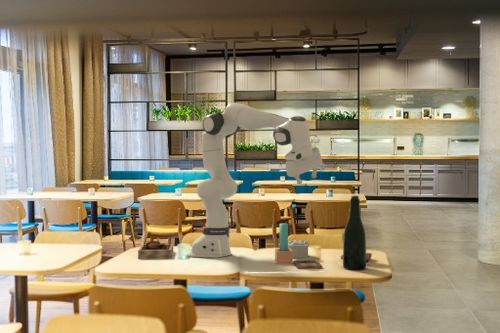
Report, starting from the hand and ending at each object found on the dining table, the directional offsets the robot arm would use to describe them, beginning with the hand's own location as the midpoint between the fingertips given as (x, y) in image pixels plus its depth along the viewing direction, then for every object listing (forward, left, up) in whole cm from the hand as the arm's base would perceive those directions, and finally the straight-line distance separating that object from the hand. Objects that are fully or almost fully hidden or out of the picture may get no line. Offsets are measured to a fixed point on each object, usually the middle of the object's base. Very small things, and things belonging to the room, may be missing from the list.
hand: (306, 180), depth 286 cm
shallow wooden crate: (-72, +31, -39) cm, 88 cm away
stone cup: (+26, +11, -40) cm, 49 cm away
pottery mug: (-72, +31, -40) cm, 88 cm away
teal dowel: (-10, +5, -39) cm, 40 cm away
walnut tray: (0, -4, -39) cm, 40 cm away
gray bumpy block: (-1, +20, -40) cm, 44 cm away
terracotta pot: (-10, +5, -39) cm, 41 cm away
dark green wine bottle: (+21, -7, -40) cm, 45 cm away
